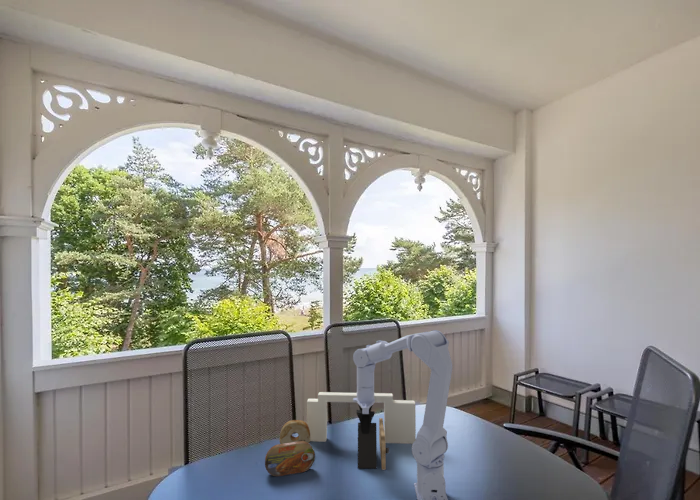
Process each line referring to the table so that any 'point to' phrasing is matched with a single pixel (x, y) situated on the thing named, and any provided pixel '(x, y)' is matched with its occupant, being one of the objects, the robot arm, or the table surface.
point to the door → (382, 444)
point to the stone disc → (294, 427)
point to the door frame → (395, 411)
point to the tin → (289, 458)
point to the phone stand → (367, 448)
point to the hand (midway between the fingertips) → (365, 428)
